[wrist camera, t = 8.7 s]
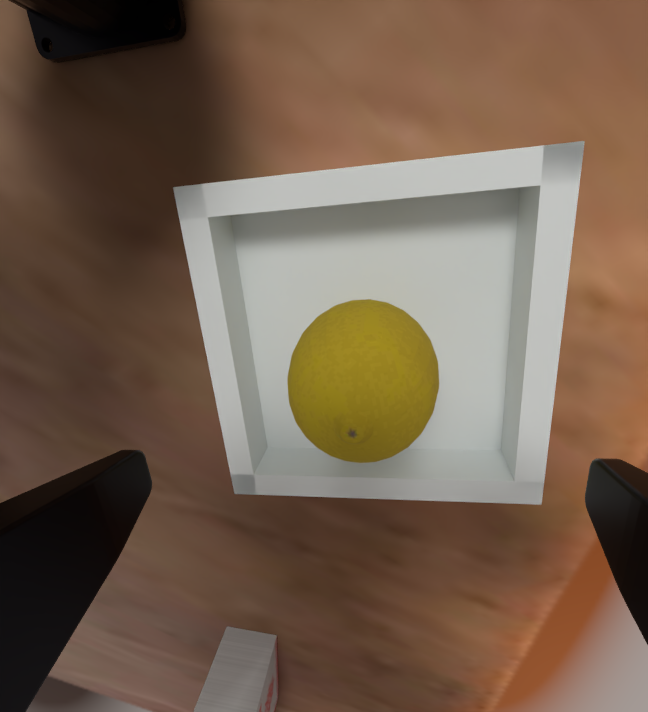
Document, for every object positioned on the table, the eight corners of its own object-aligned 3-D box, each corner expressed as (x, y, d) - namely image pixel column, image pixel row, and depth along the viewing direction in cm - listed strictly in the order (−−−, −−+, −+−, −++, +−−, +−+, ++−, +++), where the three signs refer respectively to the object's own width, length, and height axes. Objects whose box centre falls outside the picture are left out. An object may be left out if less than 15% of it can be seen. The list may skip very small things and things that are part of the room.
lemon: (448, 367, 19) (480, 482, 11) (342, 405, 20) (311, 527, 13) (402, 258, 17) (403, 311, 10) (291, 310, 19) (224, 387, 12)
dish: (253, 459, 23) (234, 493, 20) (206, 189, 18) (172, 187, 15) (521, 464, 21) (541, 504, 18) (550, 151, 16) (584, 140, 13)
